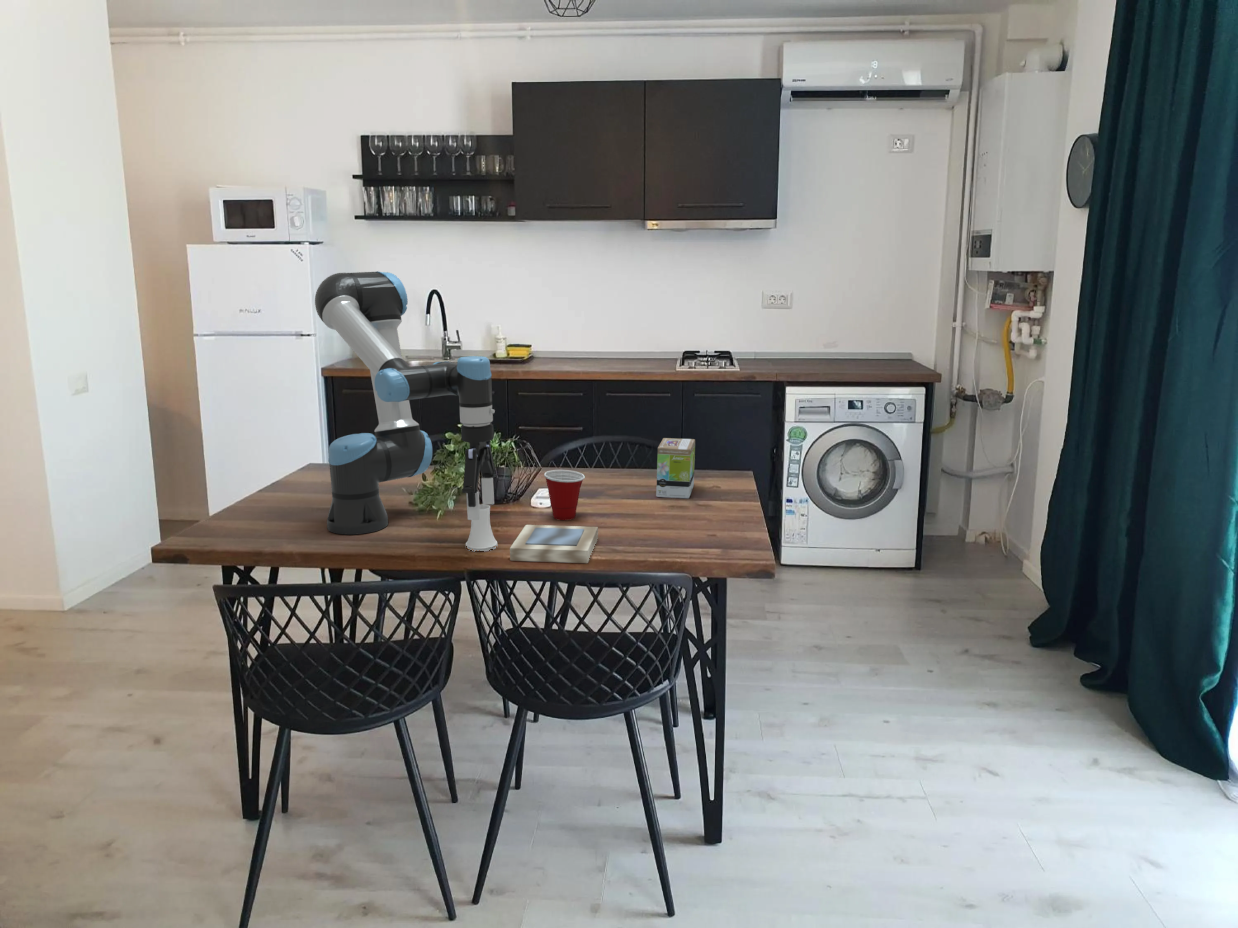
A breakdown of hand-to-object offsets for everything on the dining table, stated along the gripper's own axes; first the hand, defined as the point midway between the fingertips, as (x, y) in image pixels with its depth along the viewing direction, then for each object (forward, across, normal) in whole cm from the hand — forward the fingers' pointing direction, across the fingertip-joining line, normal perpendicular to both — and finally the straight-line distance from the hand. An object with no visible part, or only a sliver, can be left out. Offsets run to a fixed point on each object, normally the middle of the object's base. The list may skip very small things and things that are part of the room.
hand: (481, 511), depth 216 cm
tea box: (+9, +55, -44) cm, 71 cm away
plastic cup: (+9, +26, -16) cm, 32 cm away
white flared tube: (+9, 0, 0) cm, 9 cm away
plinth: (+9, 0, -18) cm, 20 cm away
